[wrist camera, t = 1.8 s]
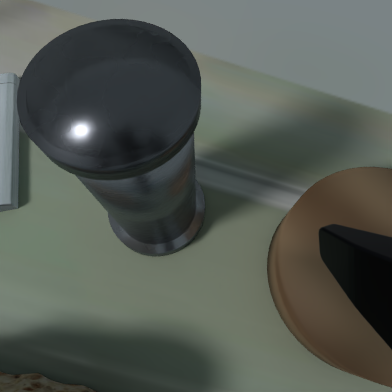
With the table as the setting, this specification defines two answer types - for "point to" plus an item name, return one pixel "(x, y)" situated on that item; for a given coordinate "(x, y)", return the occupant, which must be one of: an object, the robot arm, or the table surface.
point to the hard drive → (9, 142)
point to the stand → (321, 276)
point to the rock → (36, 384)
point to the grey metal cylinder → (122, 126)
